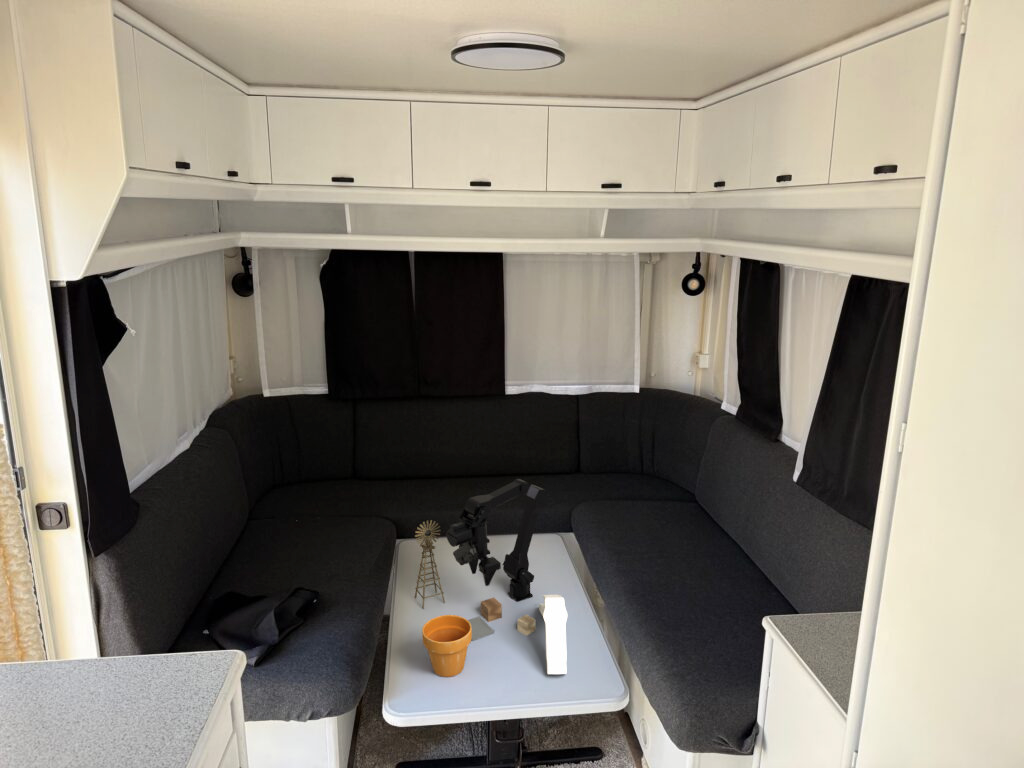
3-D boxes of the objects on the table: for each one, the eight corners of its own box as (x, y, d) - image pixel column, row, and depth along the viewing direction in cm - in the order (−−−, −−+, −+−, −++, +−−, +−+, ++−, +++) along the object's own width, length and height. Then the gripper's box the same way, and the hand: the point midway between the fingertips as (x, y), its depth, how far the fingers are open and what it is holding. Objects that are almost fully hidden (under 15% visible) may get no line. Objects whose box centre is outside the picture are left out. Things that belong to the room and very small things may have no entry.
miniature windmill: (421, 609, 233) (417, 526, 226) (413, 597, 240) (409, 517, 233) (446, 602, 237) (443, 521, 230) (437, 591, 244) (434, 512, 237)
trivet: (479, 618, 227) (479, 616, 227) (494, 633, 219) (494, 631, 219) (457, 625, 223) (457, 623, 223) (471, 641, 215) (471, 638, 215)
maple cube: (526, 625, 223) (526, 614, 222) (535, 630, 220) (535, 619, 219) (517, 630, 220) (517, 619, 219) (526, 635, 218) (526, 624, 217)
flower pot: (415, 677, 198) (413, 636, 195) (437, 649, 211) (435, 610, 208) (460, 688, 193) (459, 646, 190) (480, 658, 206) (479, 619, 203)
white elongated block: (560, 656, 228) (558, 591, 233) (569, 674, 195) (567, 597, 200) (539, 657, 228) (538, 591, 232) (545, 674, 195) (543, 598, 200)
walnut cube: (494, 610, 232) (493, 597, 231) (501, 617, 228) (501, 604, 226) (480, 615, 229) (480, 601, 228) (488, 622, 225) (488, 608, 224)
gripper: (443, 531, 228) (446, 574, 232) (468, 554, 212) (471, 600, 216) (473, 523, 233) (475, 565, 237) (500, 544, 218) (502, 589, 222)
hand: (480, 579), depth 228 cm, fingers open, 9 cm apart
